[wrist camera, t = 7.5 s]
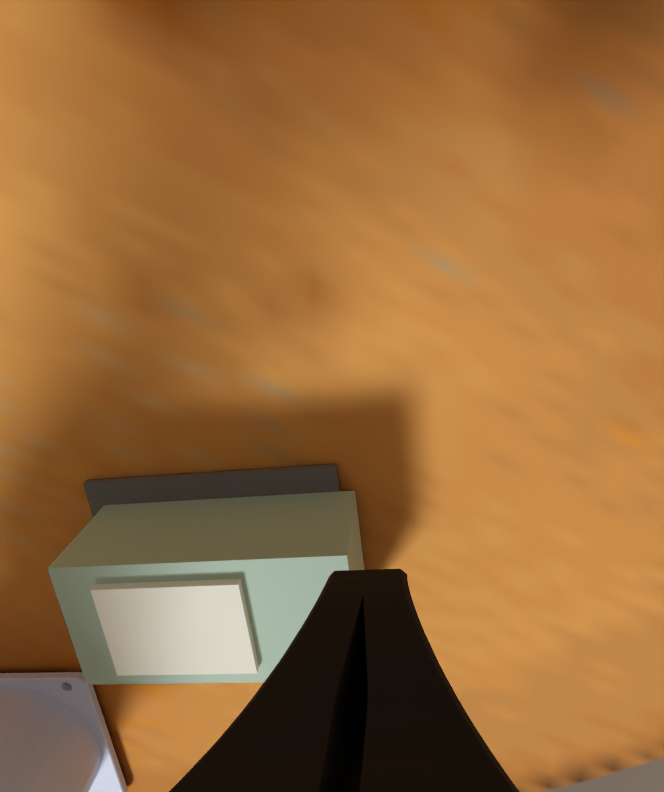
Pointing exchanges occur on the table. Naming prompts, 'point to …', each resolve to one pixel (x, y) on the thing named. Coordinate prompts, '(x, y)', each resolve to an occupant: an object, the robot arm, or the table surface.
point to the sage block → (200, 584)
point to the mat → (212, 485)
